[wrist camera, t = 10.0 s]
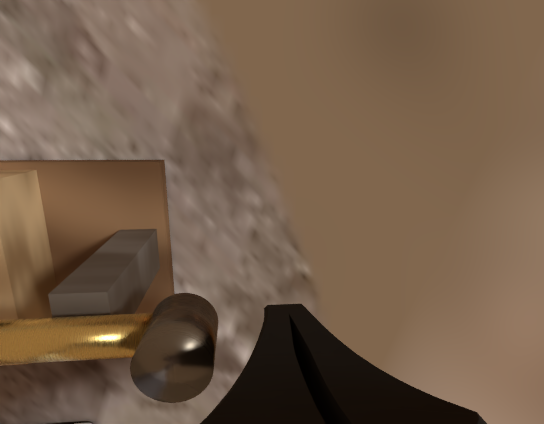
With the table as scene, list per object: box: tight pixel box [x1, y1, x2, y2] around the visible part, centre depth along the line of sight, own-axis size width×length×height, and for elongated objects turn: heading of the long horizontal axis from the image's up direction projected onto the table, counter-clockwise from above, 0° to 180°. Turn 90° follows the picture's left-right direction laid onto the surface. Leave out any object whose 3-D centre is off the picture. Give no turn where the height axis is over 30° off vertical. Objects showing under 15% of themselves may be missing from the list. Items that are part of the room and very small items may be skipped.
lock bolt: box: [0, 293, 218, 403], centre depth 11 cm, size 2×9×2 cm, turn 90°
